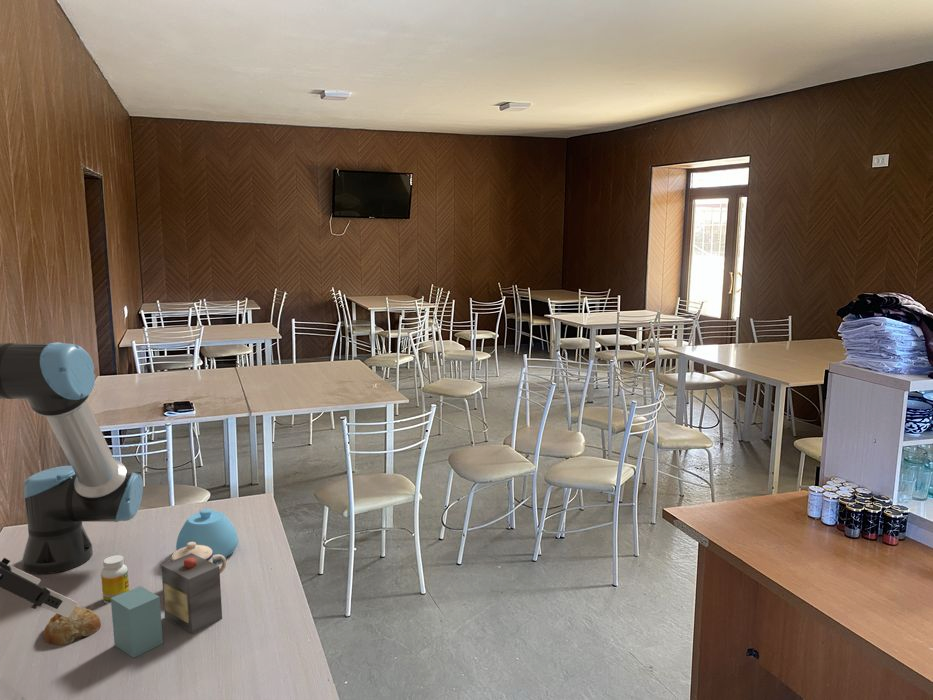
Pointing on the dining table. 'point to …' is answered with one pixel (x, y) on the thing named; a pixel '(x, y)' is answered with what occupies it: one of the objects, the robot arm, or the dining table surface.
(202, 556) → the teacup with lid
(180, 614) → the switch base
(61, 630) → the bread roll
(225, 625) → the dining table surface
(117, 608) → the teal rectangular block
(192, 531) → the sugar bowl
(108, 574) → the supplement bottle
